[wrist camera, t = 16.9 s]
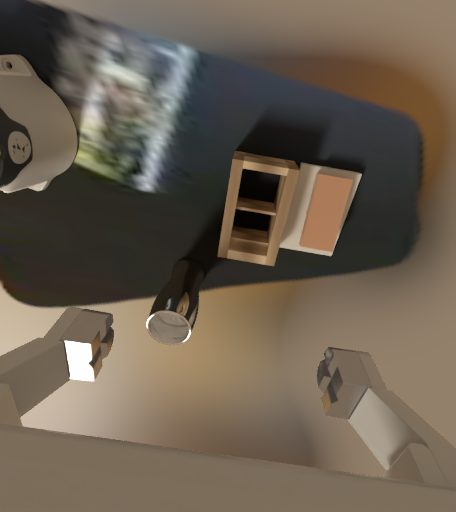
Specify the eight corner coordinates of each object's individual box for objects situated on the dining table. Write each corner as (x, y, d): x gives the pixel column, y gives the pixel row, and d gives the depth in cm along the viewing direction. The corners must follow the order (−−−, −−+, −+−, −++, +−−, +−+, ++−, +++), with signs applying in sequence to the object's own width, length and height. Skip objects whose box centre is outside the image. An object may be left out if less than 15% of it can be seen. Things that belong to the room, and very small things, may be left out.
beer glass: (166, 281, 57) (140, 338, 44) (175, 251, 54) (150, 303, 40) (200, 292, 58) (185, 352, 44) (212, 264, 54) (198, 319, 41)
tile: (297, 242, 48) (300, 246, 46) (314, 173, 45) (318, 173, 43) (327, 247, 49) (332, 251, 46) (346, 178, 45) (353, 179, 43)
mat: (278, 244, 51) (279, 247, 50) (301, 162, 44) (301, 163, 44) (330, 253, 51) (331, 256, 50) (359, 172, 45) (362, 174, 44)
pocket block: (220, 239, 52) (217, 256, 46) (235, 150, 44) (232, 158, 39) (271, 248, 52) (273, 266, 47) (294, 161, 44) (299, 170, 39)
